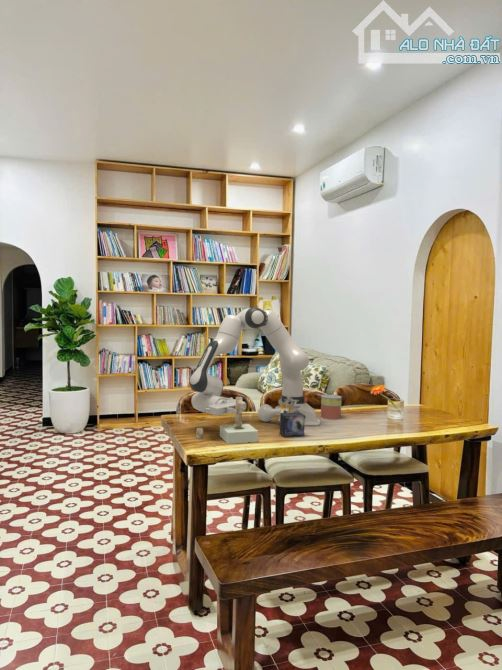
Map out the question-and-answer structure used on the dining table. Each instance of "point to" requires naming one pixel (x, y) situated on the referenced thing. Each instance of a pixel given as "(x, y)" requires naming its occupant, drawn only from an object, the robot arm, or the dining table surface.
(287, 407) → the flower vase
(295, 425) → the small box
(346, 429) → the dining table surface
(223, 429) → the grey flat block
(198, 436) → the short pin
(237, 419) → the tall pin
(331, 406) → the canned food
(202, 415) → the dining table surface
